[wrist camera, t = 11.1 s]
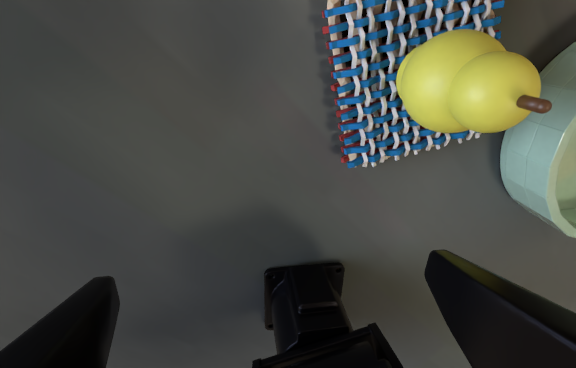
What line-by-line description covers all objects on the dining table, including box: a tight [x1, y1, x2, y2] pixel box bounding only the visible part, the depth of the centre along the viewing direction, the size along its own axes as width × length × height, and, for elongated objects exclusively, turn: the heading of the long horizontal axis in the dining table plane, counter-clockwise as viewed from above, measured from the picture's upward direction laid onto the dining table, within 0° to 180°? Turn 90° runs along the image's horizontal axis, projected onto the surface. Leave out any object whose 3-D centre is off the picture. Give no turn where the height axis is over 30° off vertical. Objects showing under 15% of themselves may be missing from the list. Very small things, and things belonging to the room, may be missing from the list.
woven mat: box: [322, 0, 504, 168], centre depth 20 cm, size 10×11×2 cm
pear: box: [396, 29, 552, 133], centre depth 15 cm, size 5×5×8 cm
